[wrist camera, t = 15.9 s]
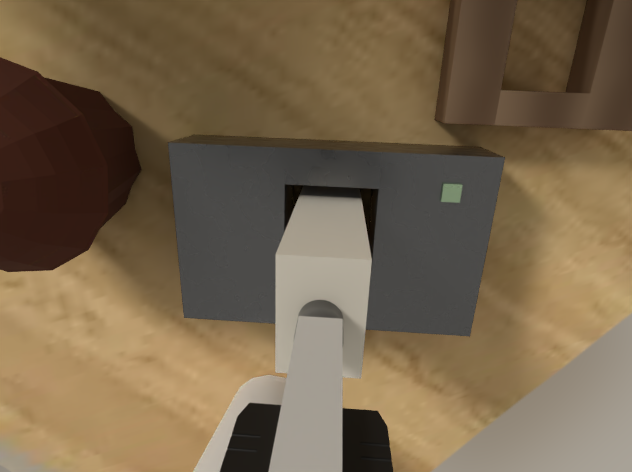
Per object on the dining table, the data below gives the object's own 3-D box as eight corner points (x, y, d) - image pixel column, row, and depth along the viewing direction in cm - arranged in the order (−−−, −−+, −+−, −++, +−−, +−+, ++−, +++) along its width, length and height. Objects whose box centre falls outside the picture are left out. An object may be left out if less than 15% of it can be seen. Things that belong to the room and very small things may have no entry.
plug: (302, 259, 28) (269, 398, 16) (304, 183, 26) (268, 271, 14) (353, 262, 28) (362, 405, 15) (359, 186, 26) (374, 277, 14)
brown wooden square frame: (434, 119, 24) (444, 123, 22) (461, -80, 21) (475, -101, 19) (604, 126, 24) (632, 130, 22) (660, -76, 21) (700, -97, 18)
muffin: (19, 235, 29) (-136, 305, 20) (-38, 69, 25) (-263, 58, 16) (178, 227, 28) (96, 297, 19) (144, 53, 24) (20, 31, 15)
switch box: (204, 288, 29) (182, 319, 26) (193, 134, 26) (166, 143, 22) (453, 303, 29) (470, 338, 25) (480, 146, 25) (506, 158, 21)
